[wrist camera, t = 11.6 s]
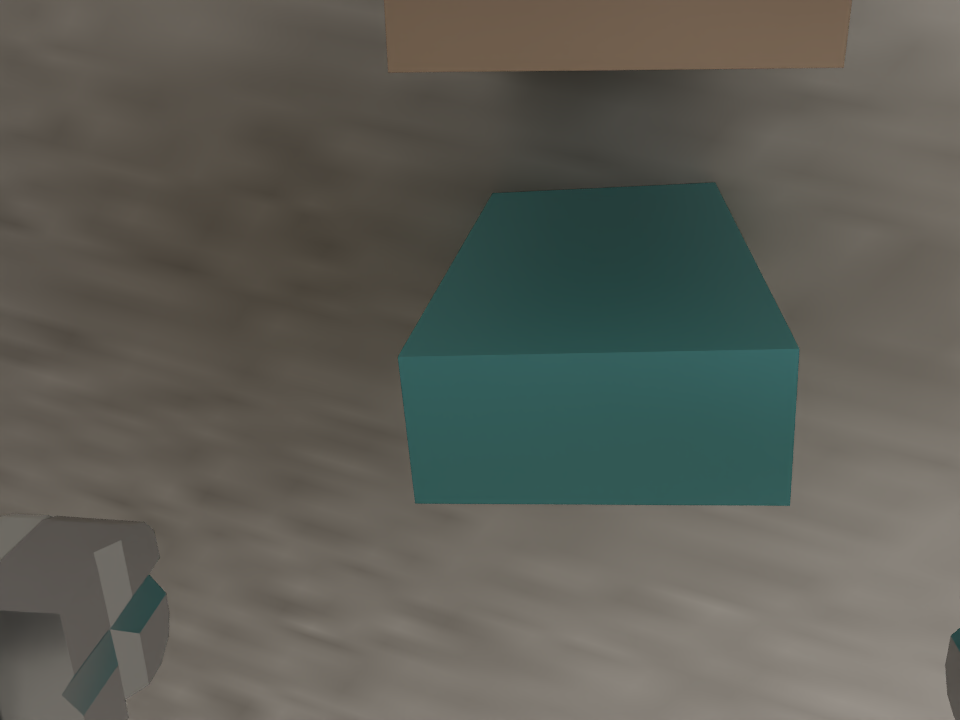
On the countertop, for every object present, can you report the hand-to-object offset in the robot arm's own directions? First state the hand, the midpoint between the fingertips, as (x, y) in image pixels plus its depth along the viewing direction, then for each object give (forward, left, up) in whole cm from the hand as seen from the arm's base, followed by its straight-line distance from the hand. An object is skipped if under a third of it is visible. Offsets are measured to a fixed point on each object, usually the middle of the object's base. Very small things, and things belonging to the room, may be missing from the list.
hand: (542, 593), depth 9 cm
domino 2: (+1, 0, -13) cm, 13 cm away
